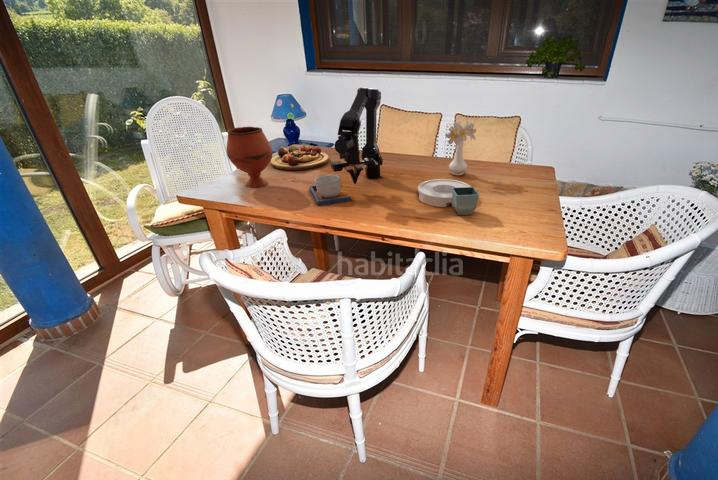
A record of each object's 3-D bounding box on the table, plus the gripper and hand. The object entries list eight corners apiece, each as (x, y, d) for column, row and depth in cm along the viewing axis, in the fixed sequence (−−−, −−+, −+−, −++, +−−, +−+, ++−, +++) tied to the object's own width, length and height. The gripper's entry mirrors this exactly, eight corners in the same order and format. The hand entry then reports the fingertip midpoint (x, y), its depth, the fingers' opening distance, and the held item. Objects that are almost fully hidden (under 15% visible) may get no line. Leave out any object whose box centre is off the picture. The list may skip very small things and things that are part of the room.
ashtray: (406, 197, 154) (406, 188, 152) (438, 184, 169) (438, 175, 167) (451, 211, 141) (452, 202, 139) (481, 195, 156) (482, 186, 154)
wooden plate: (312, 173, 183) (310, 157, 179) (258, 168, 191) (255, 152, 186) (338, 156, 209) (337, 142, 204) (290, 153, 216) (288, 138, 212)
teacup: (336, 201, 151) (334, 183, 146) (312, 199, 153) (310, 181, 149) (347, 190, 162) (346, 173, 158) (325, 188, 164) (323, 171, 160)
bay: (339, 185, 167) (339, 182, 166) (350, 200, 152) (350, 196, 151) (309, 189, 163) (309, 185, 162) (317, 205, 147) (317, 201, 146)
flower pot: (449, 208, 144) (451, 187, 139) (471, 207, 145) (473, 186, 140) (454, 217, 137) (456, 195, 132) (477, 216, 137) (479, 194, 132)
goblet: (282, 186, 167) (272, 130, 153) (239, 194, 158) (224, 135, 145) (272, 175, 180) (262, 123, 167) (232, 181, 172) (218, 127, 159)
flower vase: (440, 177, 176) (443, 124, 163) (450, 167, 190) (454, 117, 177) (465, 181, 172) (471, 126, 158) (474, 170, 186) (480, 119, 173)
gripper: (367, 141, 160) (369, 175, 168) (326, 145, 154) (330, 180, 163) (375, 147, 151) (376, 183, 159) (331, 151, 145) (335, 188, 154)
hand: (354, 183), depth 159 cm, fingers closed
